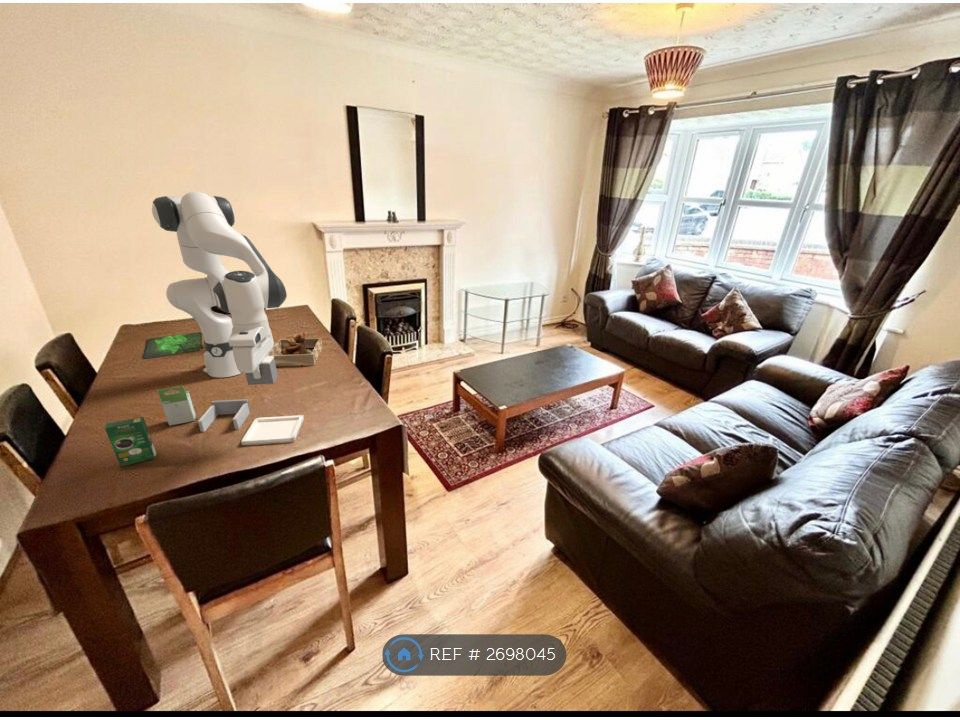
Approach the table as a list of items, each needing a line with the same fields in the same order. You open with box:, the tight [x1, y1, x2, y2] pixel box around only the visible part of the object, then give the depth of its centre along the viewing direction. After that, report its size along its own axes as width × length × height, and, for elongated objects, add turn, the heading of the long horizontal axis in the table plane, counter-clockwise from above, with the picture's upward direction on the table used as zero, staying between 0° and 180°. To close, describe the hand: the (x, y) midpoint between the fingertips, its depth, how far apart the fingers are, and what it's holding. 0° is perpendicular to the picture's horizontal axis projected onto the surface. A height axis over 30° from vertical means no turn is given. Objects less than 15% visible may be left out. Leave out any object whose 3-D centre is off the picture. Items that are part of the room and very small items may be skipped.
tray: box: [240, 414, 305, 446], centre depth 124 cm, size 13×15×2 cm
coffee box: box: [104, 416, 157, 467], centre depth 107 cm, size 8×3×13 cm, turn 120°
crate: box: [268, 337, 324, 367], centre depth 175 cm, size 20×19×5 cm
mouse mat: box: [142, 331, 203, 360], centre depth 183 cm, size 27×22×1 cm
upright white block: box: [244, 356, 279, 386], centre depth 115 cm, size 4×7×7 cm, turn 100°
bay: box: [197, 398, 251, 433], centre depth 127 cm, size 11×11×5 cm
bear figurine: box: [280, 332, 312, 355], centre depth 172 cm, size 14×15×12 cm
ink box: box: [156, 385, 197, 427], centre depth 125 cm, size 7×4×13 cm, turn 117°
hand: (261, 373), depth 115 cm, fingers closed on upright white block, 4 cm apart
